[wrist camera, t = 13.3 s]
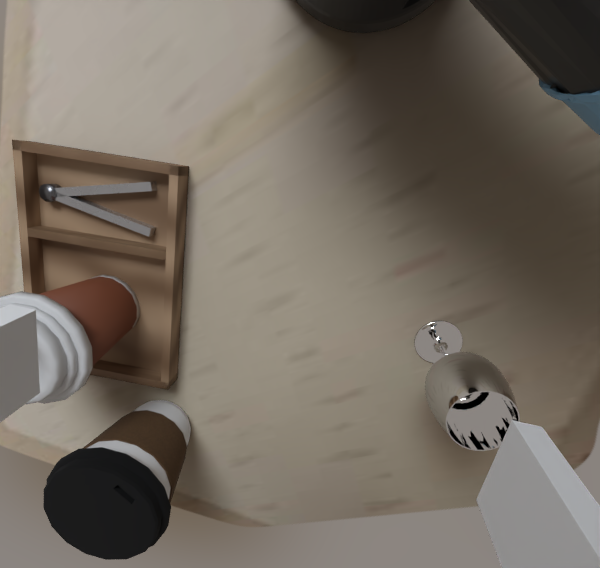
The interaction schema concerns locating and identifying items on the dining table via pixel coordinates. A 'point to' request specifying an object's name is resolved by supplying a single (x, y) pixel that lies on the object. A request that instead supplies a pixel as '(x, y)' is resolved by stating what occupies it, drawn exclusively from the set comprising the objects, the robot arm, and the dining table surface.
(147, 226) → the steel tongs
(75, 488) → the coffee cup
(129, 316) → the coffee cup
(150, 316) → the walnut caddy
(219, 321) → the dining table surface
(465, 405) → the wineglass
